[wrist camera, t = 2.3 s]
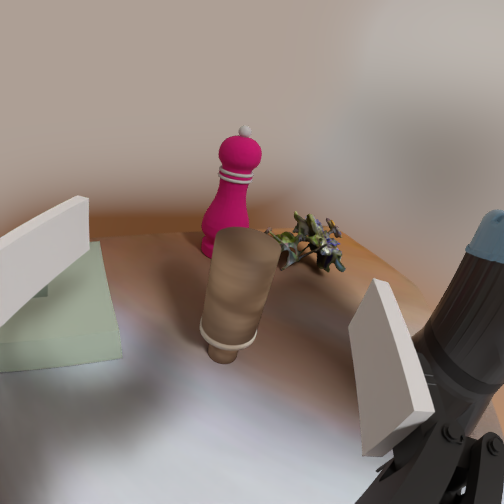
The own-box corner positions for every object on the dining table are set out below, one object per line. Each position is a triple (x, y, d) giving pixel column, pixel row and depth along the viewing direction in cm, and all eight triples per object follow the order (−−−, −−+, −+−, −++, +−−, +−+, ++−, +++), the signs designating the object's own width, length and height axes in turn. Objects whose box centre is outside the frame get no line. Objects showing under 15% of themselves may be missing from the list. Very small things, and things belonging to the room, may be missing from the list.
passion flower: (308, 292, 52) (362, 266, 44) (264, 295, 45) (323, 265, 37) (291, 236, 56) (339, 204, 48) (247, 230, 49) (297, 191, 41)
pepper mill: (188, 245, 46) (209, 119, 37) (222, 237, 52) (245, 123, 42) (218, 268, 43) (247, 129, 33) (251, 256, 48) (282, 133, 38)
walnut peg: (232, 329, 32) (259, 225, 26) (257, 364, 29) (296, 256, 23) (188, 340, 29) (203, 227, 23) (210, 379, 26) (234, 264, 20)
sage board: (101, 267, 36) (99, 241, 34) (122, 358, 25) (119, 329, 23) (-14, 278, 27) (-21, 253, 25) (-33, 373, 15) (-50, 346, 13)
